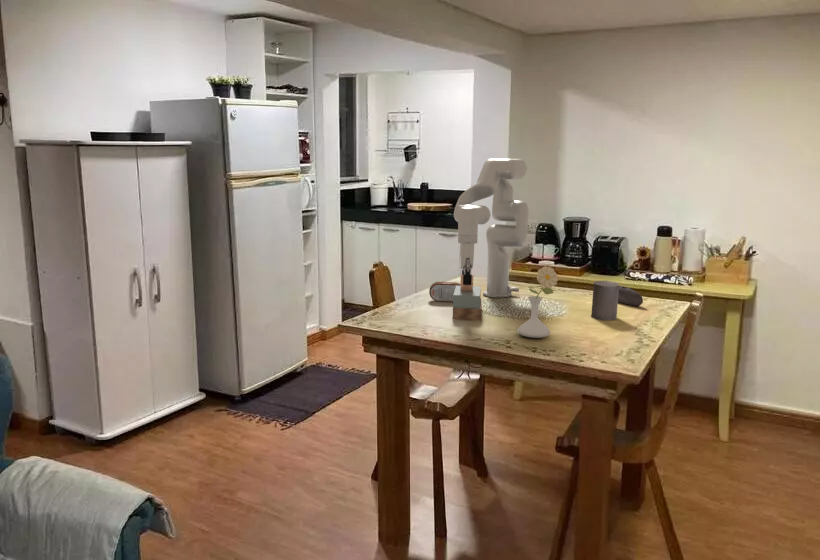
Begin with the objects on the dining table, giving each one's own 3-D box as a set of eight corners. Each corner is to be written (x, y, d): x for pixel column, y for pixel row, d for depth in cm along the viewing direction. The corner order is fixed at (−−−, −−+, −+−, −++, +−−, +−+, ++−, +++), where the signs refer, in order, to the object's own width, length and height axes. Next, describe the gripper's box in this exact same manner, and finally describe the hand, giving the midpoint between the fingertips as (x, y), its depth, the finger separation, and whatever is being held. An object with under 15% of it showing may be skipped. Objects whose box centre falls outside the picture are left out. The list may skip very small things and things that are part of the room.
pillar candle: (586, 315, 263) (588, 278, 260) (606, 313, 267) (608, 276, 264) (601, 321, 254) (604, 283, 251) (622, 319, 258) (625, 281, 255)
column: (472, 289, 265) (472, 274, 263) (473, 291, 260) (473, 276, 258) (459, 289, 265) (460, 274, 263) (460, 291, 260) (461, 276, 258)
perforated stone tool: (646, 307, 277) (647, 291, 276) (637, 308, 275) (638, 292, 273) (619, 300, 290) (620, 284, 289) (610, 301, 288) (611, 285, 286)
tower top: (480, 298, 271) (480, 286, 270) (479, 308, 254) (479, 296, 253) (455, 297, 272) (456, 285, 271) (453, 307, 255) (453, 295, 254)
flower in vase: (519, 340, 228) (522, 268, 224) (515, 331, 240) (518, 262, 235) (557, 341, 228) (561, 269, 223) (552, 332, 239) (555, 263, 234)
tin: (464, 301, 285) (464, 282, 284) (464, 303, 282) (464, 283, 281) (429, 300, 287) (429, 281, 285) (428, 301, 284) (429, 282, 282)
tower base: (480, 309, 273) (481, 298, 272) (481, 321, 254) (481, 309, 253) (454, 309, 274) (454, 297, 273) (452, 321, 255) (452, 308, 254)
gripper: (457, 235, 266) (456, 277, 270) (458, 242, 249) (457, 286, 253) (475, 236, 266) (474, 278, 270) (479, 242, 249) (477, 287, 253)
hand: (466, 282), depth 261 cm, fingers open, 9 cm apart
